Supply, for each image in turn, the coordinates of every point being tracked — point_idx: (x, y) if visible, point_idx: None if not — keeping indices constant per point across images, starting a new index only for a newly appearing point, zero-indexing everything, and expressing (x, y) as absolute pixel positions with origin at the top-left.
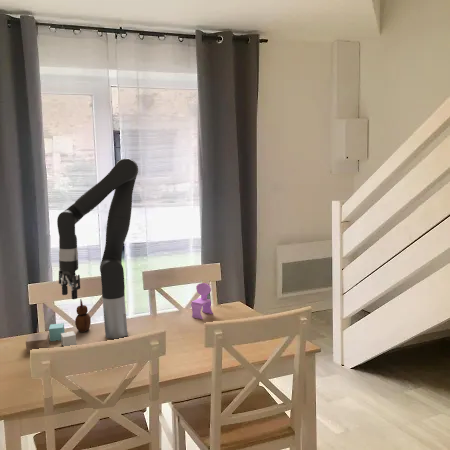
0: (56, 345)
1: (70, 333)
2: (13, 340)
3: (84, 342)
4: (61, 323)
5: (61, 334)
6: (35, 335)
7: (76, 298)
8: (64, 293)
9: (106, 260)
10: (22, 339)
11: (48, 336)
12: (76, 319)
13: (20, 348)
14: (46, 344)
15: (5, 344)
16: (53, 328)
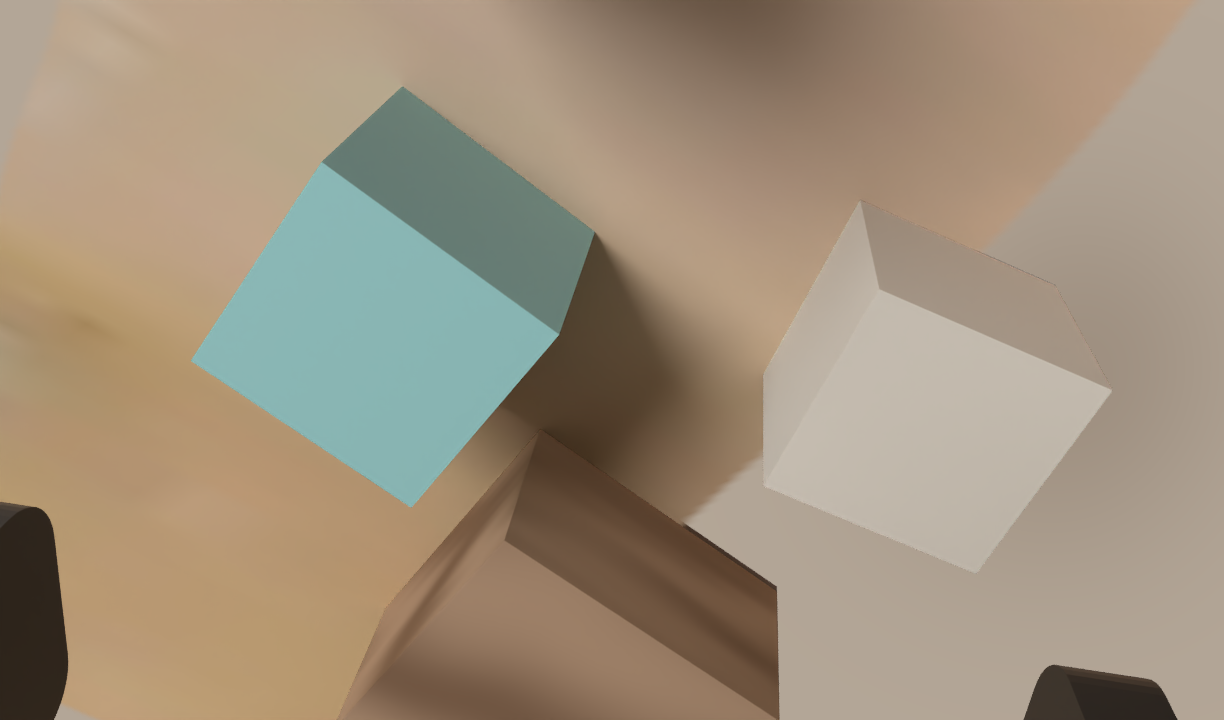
0: (710, 429)
1: (943, 396)
2: None
3: (1049, 98)
4: (302, 201)
5: (825, 509)
6: (462, 710)
7: (1127, 701)
8: (21, 686)
9: None
10: (82, 538)
11: (596, 573)
12: None
13: None
14: (769, 666)
15: (110, 716)
16: (455, 452)
